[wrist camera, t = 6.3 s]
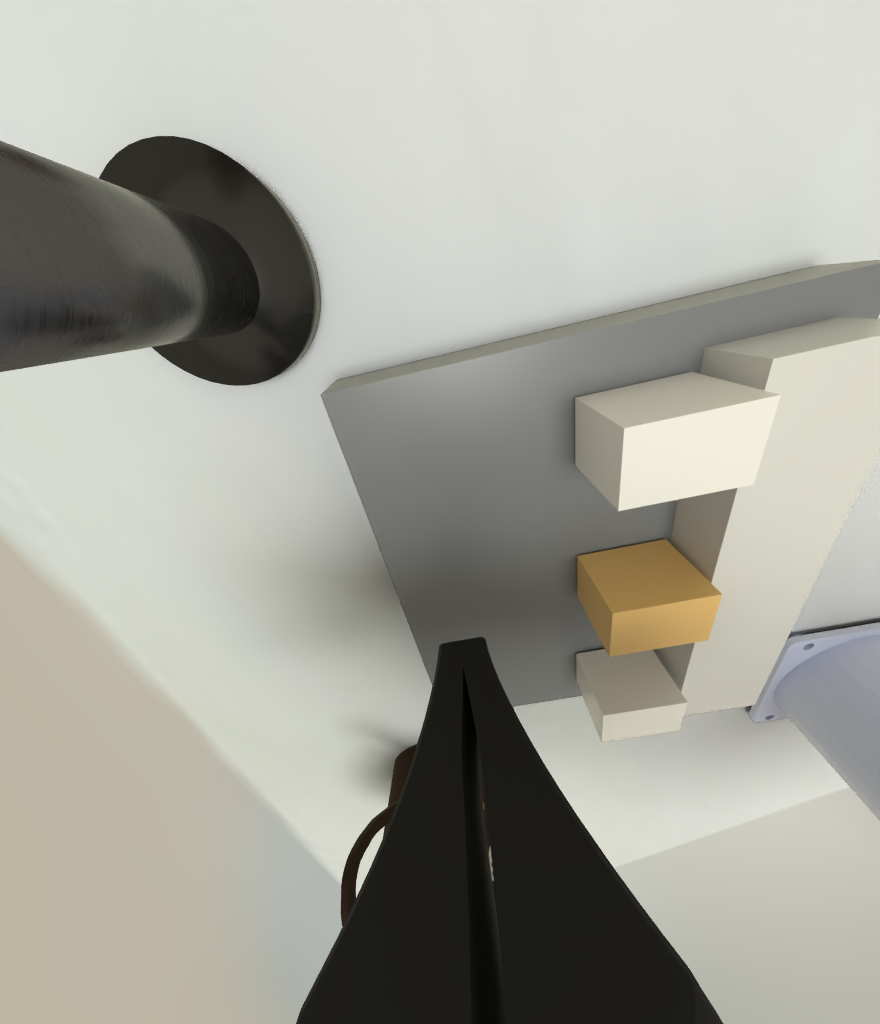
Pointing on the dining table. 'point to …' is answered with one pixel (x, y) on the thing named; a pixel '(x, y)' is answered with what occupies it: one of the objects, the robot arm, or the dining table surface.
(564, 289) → the dining table surface
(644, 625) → the block
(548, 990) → the robot arm
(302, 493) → the dining table surface
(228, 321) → the black door knob
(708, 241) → the dining table surface
